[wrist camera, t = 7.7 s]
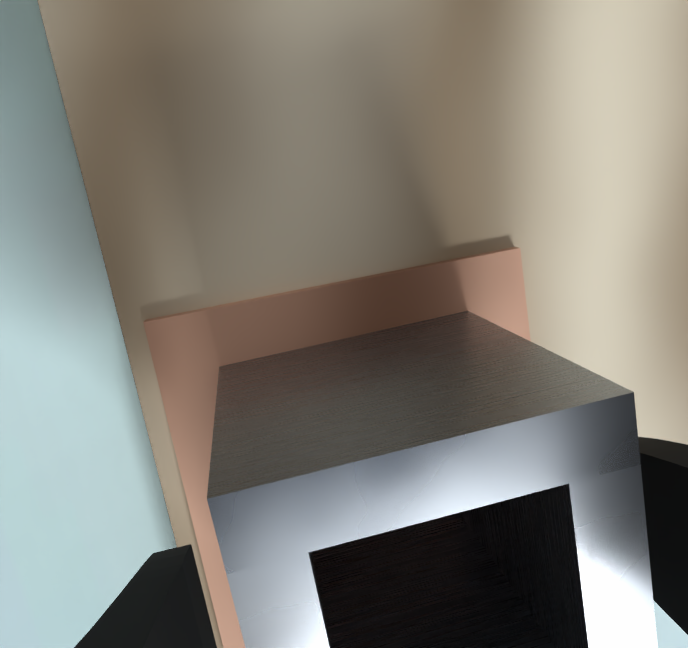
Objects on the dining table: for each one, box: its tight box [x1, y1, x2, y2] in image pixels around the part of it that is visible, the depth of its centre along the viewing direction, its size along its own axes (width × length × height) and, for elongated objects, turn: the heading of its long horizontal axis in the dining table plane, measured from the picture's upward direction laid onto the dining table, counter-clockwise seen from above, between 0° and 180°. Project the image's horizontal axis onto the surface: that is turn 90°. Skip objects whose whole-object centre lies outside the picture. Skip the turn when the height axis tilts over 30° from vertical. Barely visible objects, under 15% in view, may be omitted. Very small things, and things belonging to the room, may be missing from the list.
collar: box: [207, 311, 658, 648], centre depth 11 cm, size 5×5×6 cm
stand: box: [38, 0, 688, 648], centre depth 12 cm, size 16×20×6 cm
